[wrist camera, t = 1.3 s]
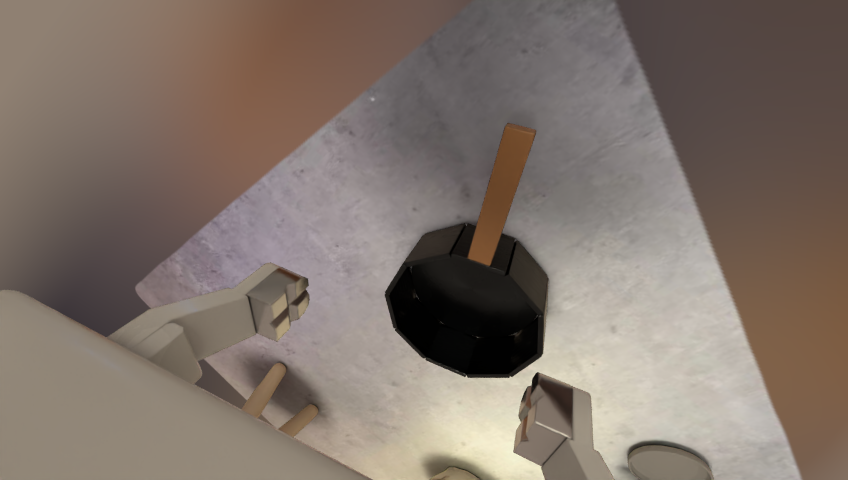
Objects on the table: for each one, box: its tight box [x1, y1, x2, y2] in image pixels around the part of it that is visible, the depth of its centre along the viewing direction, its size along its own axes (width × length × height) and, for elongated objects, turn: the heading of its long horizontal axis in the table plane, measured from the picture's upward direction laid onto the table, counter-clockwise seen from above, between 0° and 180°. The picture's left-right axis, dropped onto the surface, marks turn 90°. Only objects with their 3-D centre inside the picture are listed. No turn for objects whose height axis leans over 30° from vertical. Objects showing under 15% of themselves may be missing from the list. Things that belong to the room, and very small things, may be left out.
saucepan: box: [385, 123, 548, 378], centre depth 25 cm, size 21×13×5 cm, turn 171°
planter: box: [241, 363, 318, 437], centre depth 46 cm, size 16×16×22 cm
